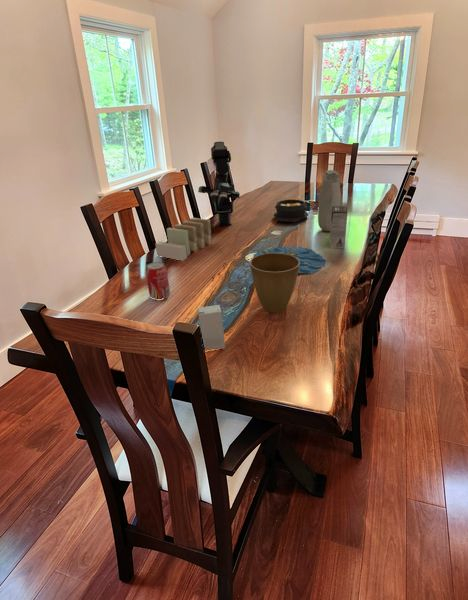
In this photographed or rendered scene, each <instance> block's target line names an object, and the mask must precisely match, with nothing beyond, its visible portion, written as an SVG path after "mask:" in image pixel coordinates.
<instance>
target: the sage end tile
mask: <svg viewBox="0 0 468 600" xmlns="http://www.w3.org/2000/svg"><path fill="white" fill-rule="evenodd" d="M166 234H167V235H166V236H167V243H172V244H178V245H183V246H186V255H187V257H189V256H190V255H191V251H190V247H189V237H188V230H182V229H175V227H174V228H173V227H167V228H166ZM189 254H190V255H189ZM188 255H189V256H188Z"/></svg>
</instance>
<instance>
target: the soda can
mask: <svg viewBox="0 0 468 600" xmlns="http://www.w3.org/2000/svg"><path fill="white" fill-rule="evenodd" d="M145 277H146V283H147V290H148V293H149V298H150V297H152V298H155V299H162V298H166V297H167V298H169V297H170V295H171V294H170V293H171V292H170V291H171V290H170V283H169V276H168V271H167V268H166V266H165V264H164V262H160V261H155V262H150V263H148V264H147V265H146V270H145ZM152 298H151V299H152ZM167 298H166V299H167Z"/></svg>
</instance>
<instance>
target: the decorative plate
mask: <svg viewBox="0 0 468 600" xmlns="http://www.w3.org/2000/svg"><path fill="white" fill-rule="evenodd" d="M266 253H283V254H288V255H292V256H294V257H296V258H297V259H298V260H299V261H300V264H299V269H298V274H306V275H308V274H315V273H316V272H318V271H319V270H322V268H324V267H325V266H326V263H327V260H326V258H324V257H323V256H322V255H320V254H319V253H316V252H315V251H314V250H313V249H311V248H308V247H302V246H296V245H295V246H294V245H290V246H286V245H285V246H278V247H274V248H272V247H270V248H268V249H265V250H264V249H263V250H260V251H257V252H256V253H254V254H253V257H252V258H254V257H255V256H258V255H261V254H266Z"/></svg>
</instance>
